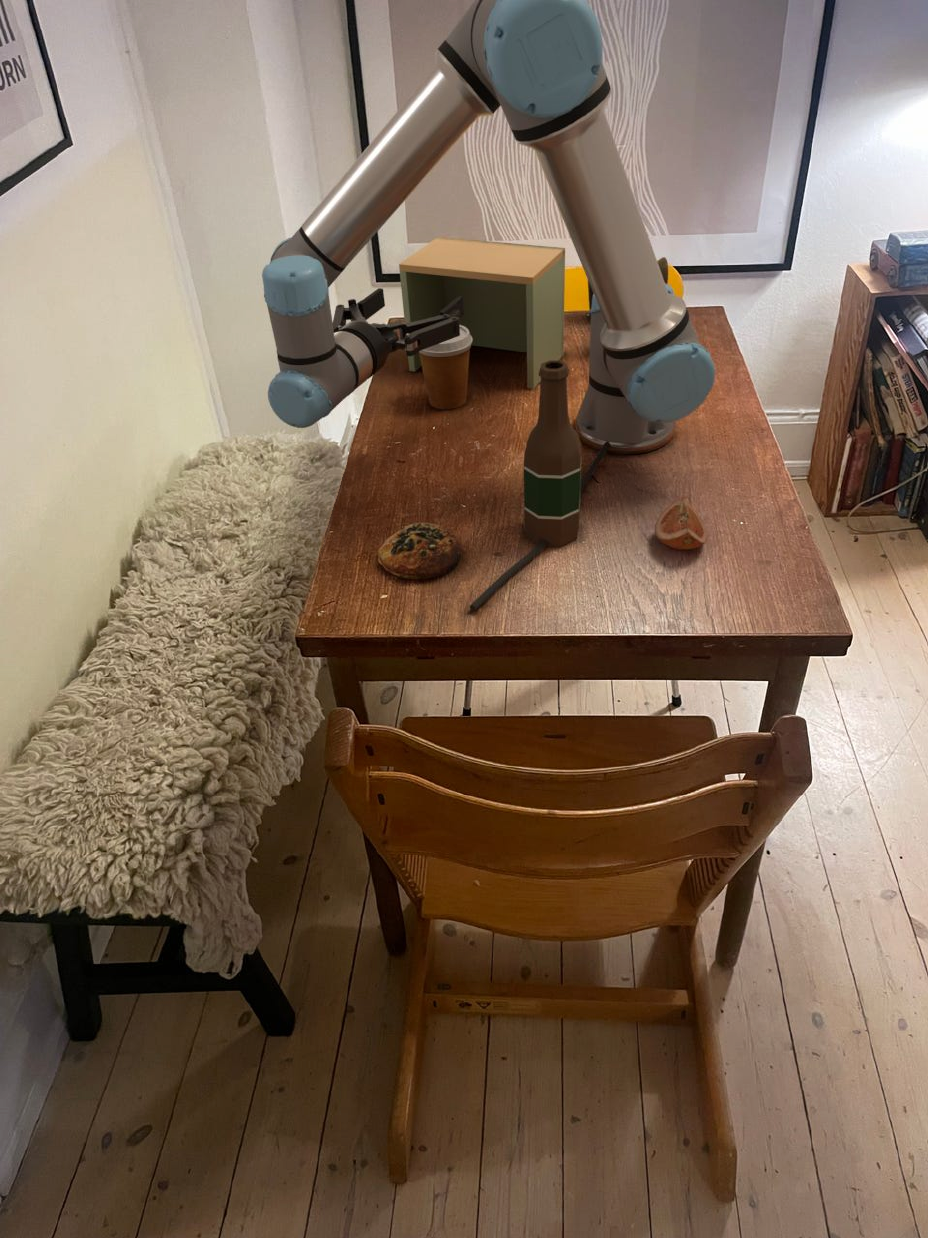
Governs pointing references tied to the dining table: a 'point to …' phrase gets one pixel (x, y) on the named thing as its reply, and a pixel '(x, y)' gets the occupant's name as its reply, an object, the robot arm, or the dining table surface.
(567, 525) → the beer bottle
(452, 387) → the disposable coffee cup
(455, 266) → the cabinet
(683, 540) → the fruit slice
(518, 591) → the dining table surface
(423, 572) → the bread roll
